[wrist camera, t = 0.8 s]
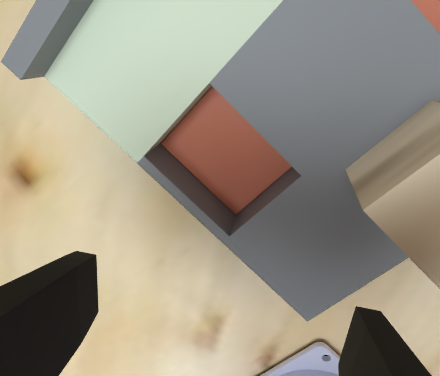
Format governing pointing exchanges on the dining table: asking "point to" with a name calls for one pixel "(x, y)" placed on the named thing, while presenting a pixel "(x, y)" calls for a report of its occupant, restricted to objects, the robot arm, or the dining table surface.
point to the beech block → (406, 187)
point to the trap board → (250, 115)
